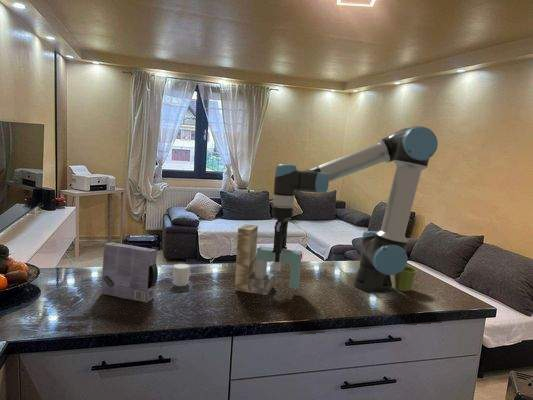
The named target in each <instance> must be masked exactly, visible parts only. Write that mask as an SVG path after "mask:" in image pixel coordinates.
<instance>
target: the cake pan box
mask: <svg viewBox="0 0 533 400" xmlns="http://www.w3.org/2000/svg"><path fill="white" fill-rule="evenodd" d="M157 253H158V249H154V248H148V247H141V246H136V245H132V244H131V245H130V244H124V243H118V242H113V241H112V242H107V243H104V244H103V257H102V272H101V273H102V274H101V275H102V276H101V277H102V278H101V290H100V294H101V295H106V296H112V297H115V298H120V299H124V300H132V301H136V302H137V301H138V302H143V303H144V304H145V303H146V304H148V303H149V302H150V301H152V300H153V299H154V298H155V286H156V284H157V281H158V275H159V271H158V266H157Z"/></svg>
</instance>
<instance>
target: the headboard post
mask: <svg viewBox="0 0 533 400" xmlns="http://www.w3.org/2000/svg"><path fill="white" fill-rule="evenodd" d="M258 229H259V226H258V225H253V224H244V225H242V226H241V227H239V228H237V238H236V241H237V243H236V256H235V257H236V258H235V275H234V279H235V280H234V291H237V292H238V291H239V292H242V293H243V292H244V293H251V294H257V295H258V294H259V295H262V296H264V295H265V296H268V295H269V293H270V292H271V290H272V288H273V286H274V274H273V273H266V279H265V280H260V279H255V274H256V272H255V263H256V253H257V247H258V245H257V244H258Z"/></svg>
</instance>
